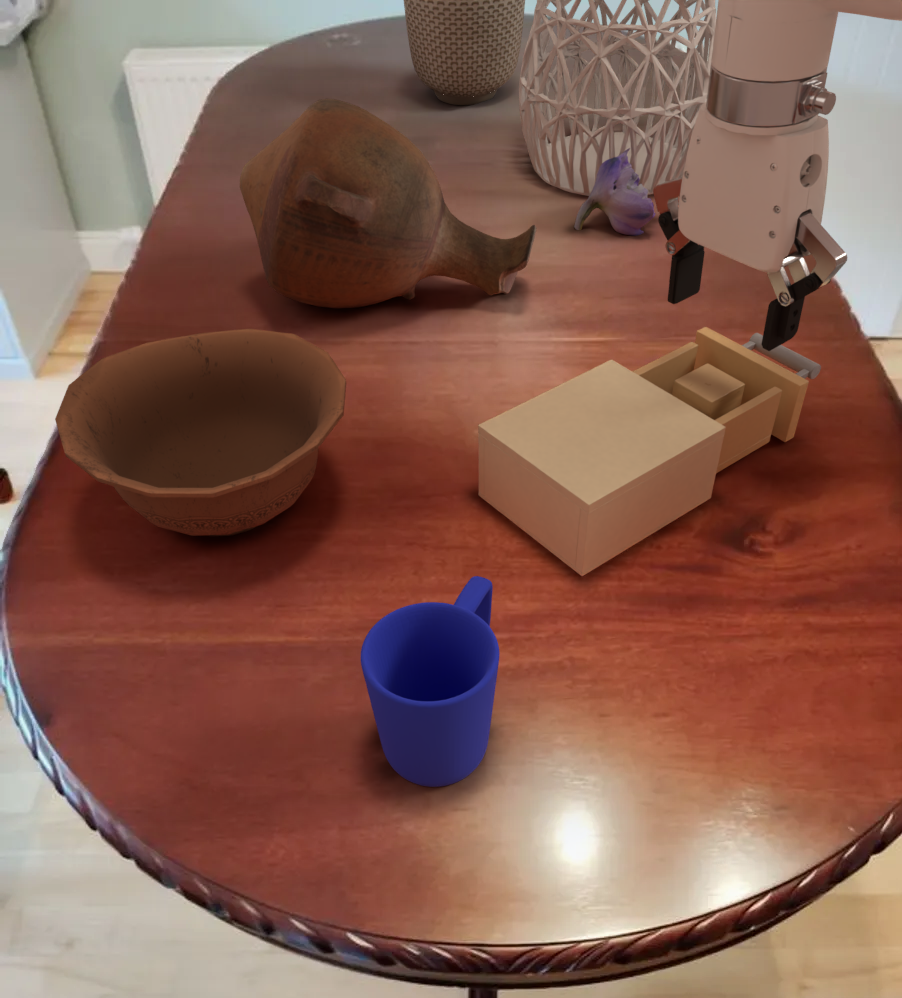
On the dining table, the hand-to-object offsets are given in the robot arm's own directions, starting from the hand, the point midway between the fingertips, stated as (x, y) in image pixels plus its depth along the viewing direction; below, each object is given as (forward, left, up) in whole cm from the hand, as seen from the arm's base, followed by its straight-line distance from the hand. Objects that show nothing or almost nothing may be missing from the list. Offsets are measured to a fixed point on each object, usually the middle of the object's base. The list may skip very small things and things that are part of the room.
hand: (728, 319), depth 80 cm
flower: (-23, -35, -12) cm, 43 cm away
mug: (+37, +10, -12) cm, 40 cm away
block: (0, -1, -10) cm, 10 cm away
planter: (-37, -80, -12) cm, 89 cm away
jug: (+6, -39, -12) cm, 41 cm away
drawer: (-1, -1, -11) cm, 11 cm away
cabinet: (+13, -1, -12) cm, 18 cm away
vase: (-35, -48, -12) cm, 60 cm away
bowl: (+37, -20, -12) cm, 44 cm away
